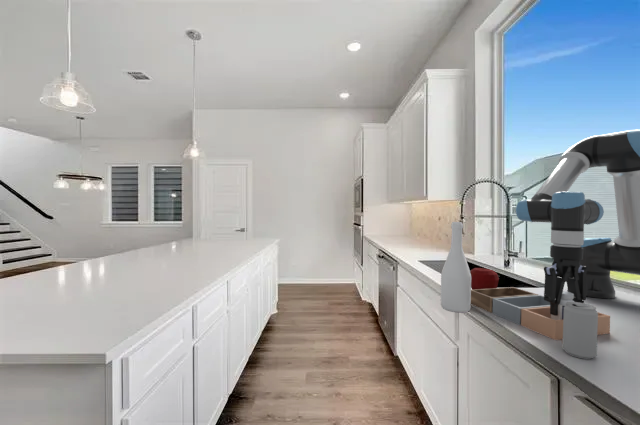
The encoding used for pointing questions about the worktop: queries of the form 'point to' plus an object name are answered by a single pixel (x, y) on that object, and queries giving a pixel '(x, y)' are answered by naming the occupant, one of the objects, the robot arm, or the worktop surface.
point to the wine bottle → (456, 276)
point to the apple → (483, 278)
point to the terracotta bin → (555, 322)
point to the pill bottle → (566, 300)
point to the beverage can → (580, 330)
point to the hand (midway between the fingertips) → (564, 325)
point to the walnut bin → (494, 296)
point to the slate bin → (517, 306)
